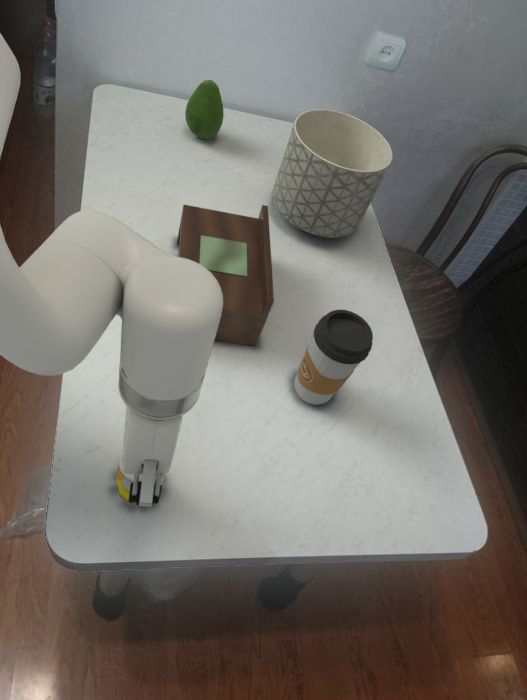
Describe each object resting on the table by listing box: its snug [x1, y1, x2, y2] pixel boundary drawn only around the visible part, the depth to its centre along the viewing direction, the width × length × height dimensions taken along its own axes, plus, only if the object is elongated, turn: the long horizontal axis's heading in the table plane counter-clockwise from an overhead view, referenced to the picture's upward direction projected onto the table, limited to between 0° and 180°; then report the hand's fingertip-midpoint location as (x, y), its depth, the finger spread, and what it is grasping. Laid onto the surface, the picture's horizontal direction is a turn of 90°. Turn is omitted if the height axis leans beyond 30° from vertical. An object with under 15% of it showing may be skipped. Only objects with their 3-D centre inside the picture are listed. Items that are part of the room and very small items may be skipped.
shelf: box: [176, 204, 275, 347], centre depth 88 cm, size 14×22×11 cm, turn 2°
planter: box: [271, 108, 394, 239], centre depth 105 cm, size 19×19×18 cm
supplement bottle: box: [116, 448, 165, 507], centre depth 64 cm, size 6×6×10 cm
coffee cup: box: [293, 309, 374, 406], centre depth 79 cm, size 8×8×15 cm
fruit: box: [184, 79, 225, 140], centre depth 114 cm, size 8×8×12 cm
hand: (147, 459), depth 62 cm, fingers open, 9 cm apart
